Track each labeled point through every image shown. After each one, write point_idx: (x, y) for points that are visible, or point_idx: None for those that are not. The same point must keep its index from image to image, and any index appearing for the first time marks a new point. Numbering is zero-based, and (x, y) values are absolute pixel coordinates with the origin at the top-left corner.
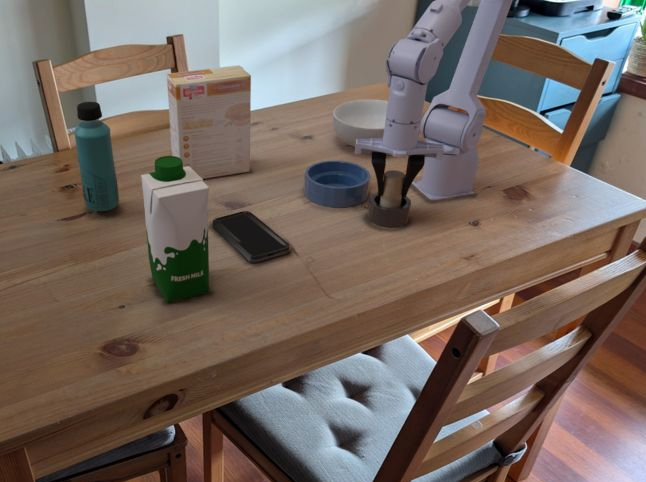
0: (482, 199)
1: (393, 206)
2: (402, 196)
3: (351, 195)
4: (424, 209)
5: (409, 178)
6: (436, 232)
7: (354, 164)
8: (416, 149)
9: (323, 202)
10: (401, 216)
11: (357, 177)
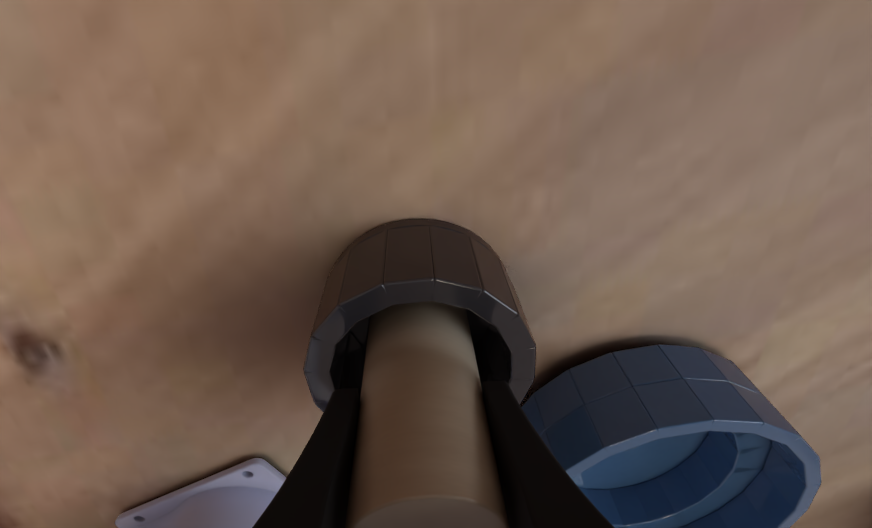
0: (80, 499)
1: (402, 330)
2: (354, 391)
3: (604, 404)
4: (273, 408)
5: (297, 520)
6: (173, 246)
7: None
8: None
9: (710, 358)
10: (349, 275)
11: None
